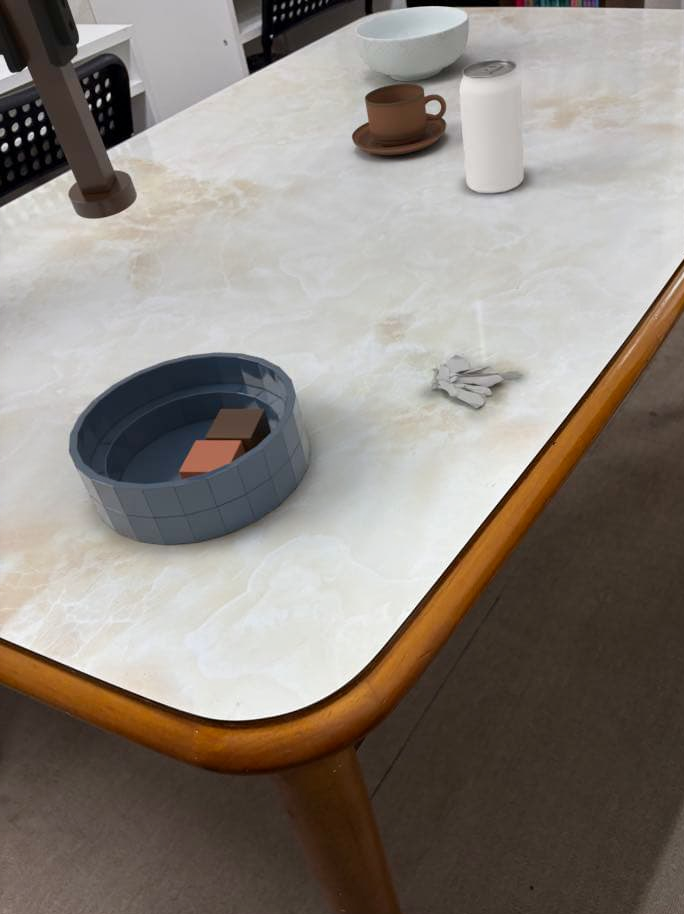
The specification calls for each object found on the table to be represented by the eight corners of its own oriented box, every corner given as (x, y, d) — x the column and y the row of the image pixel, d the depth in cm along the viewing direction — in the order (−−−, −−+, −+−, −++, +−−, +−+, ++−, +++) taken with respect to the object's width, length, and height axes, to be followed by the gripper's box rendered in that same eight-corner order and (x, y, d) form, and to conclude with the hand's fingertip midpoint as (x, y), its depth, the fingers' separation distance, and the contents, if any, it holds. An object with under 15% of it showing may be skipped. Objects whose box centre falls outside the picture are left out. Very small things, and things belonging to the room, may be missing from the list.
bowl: (70, 558, 59) (37, 499, 56) (127, 420, 71) (103, 363, 67) (299, 539, 58) (281, 476, 54) (319, 401, 70) (305, 342, 66)
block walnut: (262, 476, 63) (250, 437, 60) (218, 475, 63) (204, 437, 61) (275, 446, 65) (265, 408, 63) (233, 445, 66) (220, 408, 63)
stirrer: (67, 221, 59) (-49, -33, 47) (84, 189, 61) (-21, -58, 50) (129, 215, 58) (27, -43, 47) (143, 183, 61) (50, -68, 49)
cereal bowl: (373, 100, 124) (366, 45, 119) (352, 70, 136) (344, 20, 131) (485, 75, 125) (482, 21, 121) (454, 49, 138) (450, -2, 133)
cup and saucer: (421, 121, 115) (416, 71, 111) (464, 145, 107) (460, 91, 102) (340, 145, 112) (331, 95, 108) (377, 171, 104) (369, 118, 100)
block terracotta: (193, 509, 61) (178, 471, 58) (209, 477, 63) (195, 439, 61) (239, 510, 60) (226, 471, 58) (254, 478, 63) (241, 440, 60)
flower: (509, 362, 72) (513, 333, 70) (534, 416, 66) (539, 385, 64) (421, 366, 71) (422, 337, 69) (438, 421, 65) (440, 390, 63)
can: (455, 191, 97) (445, 75, 88) (485, 169, 100) (478, 56, 92) (505, 198, 93) (500, 79, 85) (534, 175, 97) (531, 59, 89)
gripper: (72, -396, 42) (183, 30, 54) (-229, -340, 43) (-52, 61, 56) (18, -411, 36) (156, 66, 49) (-323, -348, 38) (-104, 99, 50)
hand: (44, 60), depth 52 cm, fingers closed on stirrer, 2 cm apart
